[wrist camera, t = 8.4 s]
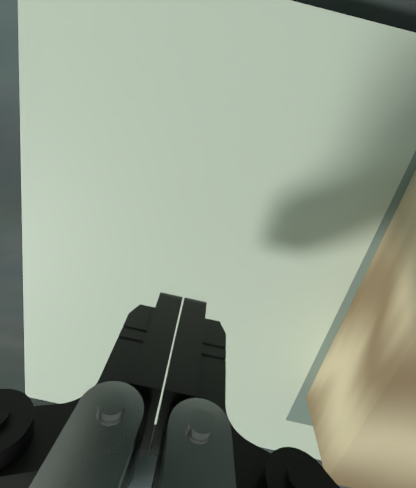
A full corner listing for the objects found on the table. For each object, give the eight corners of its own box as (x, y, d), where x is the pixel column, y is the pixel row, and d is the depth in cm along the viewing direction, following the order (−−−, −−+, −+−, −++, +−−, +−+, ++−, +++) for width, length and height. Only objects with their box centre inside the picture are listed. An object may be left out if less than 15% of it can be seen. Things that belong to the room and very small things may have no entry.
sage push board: (35, -56, 10) (16, -72, 10) (826, 148, 11) (878, 152, 10) (35, 381, 19) (25, 396, 18) (493, 481, 20) (506, 499, 19)
